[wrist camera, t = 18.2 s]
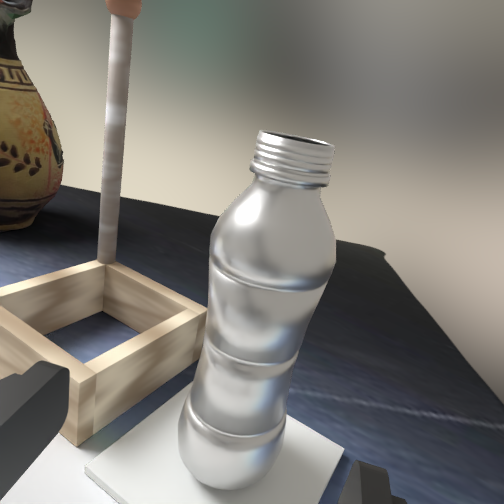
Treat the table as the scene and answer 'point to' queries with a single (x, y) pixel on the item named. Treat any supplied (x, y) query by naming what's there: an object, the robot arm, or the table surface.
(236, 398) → the plastic bottle
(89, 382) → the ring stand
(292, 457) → the white square plate
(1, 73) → the ceramic jug
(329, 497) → the table surface
